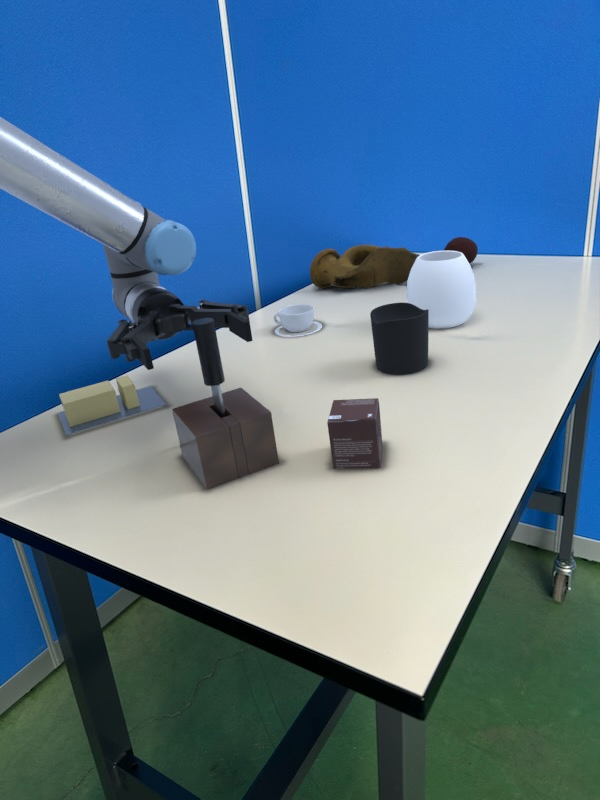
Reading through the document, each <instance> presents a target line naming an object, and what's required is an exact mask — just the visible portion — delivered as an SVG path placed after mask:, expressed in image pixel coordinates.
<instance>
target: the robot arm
mask: <svg viewBox="0 0 600 800" xmlns="http://www.w3.org/2000/svg"><path fill="white" fill-rule="evenodd" d="M0 190H2V191H4V192H5V193H8V194H10V195H11V196H13V197H15V198H17V199H19V200H21V201H22V202H23V203H26V204H27V205H30V206H32V207H33V208H35V209H37V210H39V211H41V212H43V213H45V214H46V215H48V216H50V217H52V218H53V219H56V220H58V221H59V222H61V223H64V224H65V225H66V226H69V227H70V228H72V229H74V230H76V231H77V232H80V233H81V234H83V235H85V236H87V237H88V238H91V239H93V240H94V241H96V242H98V243H100V244H102V248H103V251H104V255H105V259H106V261H107V262H106V263H107V265H108V270H109V275H110V279H111V283H112V290H111V297H112V298H111V299H112V302H113V303H114V306H115V308H116V310H118V311H119V313H120V314H121V315H122V316H123V317H125V318H127V319H128V320H127V319H125V318H124V319H123V318H122V319H120V320H118V321H117V323H118V325H117V327H116V328H115V329H114V330H113V332H112V333H111V334H110V335H109V337H108V339H107V340H106V344H107V350H108V352H109V356H110V359H112V360H116V359H119V358H120V357H121V356H122V355H124V356H125V360H126V362H127V363H132V362H135V361H136V360H138V361H139V362H140V363H141V364H142V366H143V367H144V368H145V369H146V370H147V371H150V370H154V368H155V367H154V363H153V359H152V354H151V350H150V348H149V346H147V345H148V344H150V343H151V342H156V341H162V340H163V341H164V340H168V339H171V338H173V337H174V336H176V335H177V334H178V333H182V332H183V331H191V332H194V330H193V325H192V322H193V321H195V320H198V319H202V318H212V319H214V324H215V329H216V328H217V329H228V330H229V332H231V333H232V334H234V335H235V336H237V337H239V338H240V339H242V340H243V341H245V342H247V343H250V342H253V341H254V340H253V335H252V327H251V321H250V315H249V308H248V305H246V304H237V303H225V302H216V301H210V300H206V299H201V300H199V301H198V306H197V305H185V304H184V303H183V302H182V300H181V299H180V298H179V297H178V296H177V295H176V294H174V293H173V292H171V291H170V290H168V289H167V288H165V287H163V286H161V284H160V283H161V282H160V279H159V275H160V276H178V275H181V274H182V273H184V272H186V271H187V270H188V269H189V268H190V267H191V266H192V265H193V264H194V262H195V258H196V254H197V243H196V239H195V237H194V235H193V233H192V231H191V230H190V229H189V228H188V227H187V226H186V225H183V224H182V223H179V222H177V221H176V220H171V219H165V218H163V217H162V216H160V215H158V214H157V213H155V212H153V211H152V210H150V209H149V208H147V207H145V206H143V205H142V203H141V202H139V201H137V200H135V199H132V197H129V196H128V195H126V194H125V193H123V192H121V191H120V190H118V189H117V188H115V187H113V186H112V185H110V184H109V183H108V182H105V181H104V180H102V179H101V178H99V177H98V176H96V175H94V174H92V173H91V172H90V171H88V170H86V169H85V168H83V167H81V166H80V165H78V164H77V163H75V162H73V161H72V160H70V159H69V158H67V157H65V156H64V155H62V153H61V154H60V153H59V152H57V151H56V150H54V149H53V148H52V147H49V146H48V145H46V144H44V143H43V142H42V141H40V140H38V139H37V138H35V137H33V136H32V135H30V134H29V133H27V132H26V131H23V130H22V129H21V128H19V127H18V126H17V125H14V124H13V123H11V122H10V121H8V120H6V119H4V118H3V117H1V116H0Z"/></svg>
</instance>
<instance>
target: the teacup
mask: <svg viewBox="0 0 600 800" xmlns="http://www.w3.org/2000/svg"><path fill="white" fill-rule="evenodd" d="M277 317H278V318H279V320H278V319H277ZM314 319H315V306H314V305H312V304H309V303H295V304H289V305H287V306H284V307H281V308H280V309H279V310H278V311H277V313H275V314H274V315H273V321H274V323H275V324H277V325H278V327H276V328H275V329H274V334H275V335H277V336H280V337H283V338H284V337H285V338H296V337H304V336H308V335H312V334H315V333H317V332H318V331H320V330H321V329H322V328H323V325H322V323H321V322H319V321H314ZM313 324H314V325H316V328H315V329H314V330H312V331H310V332H306V331H308V330H309V329H310V328H311V327H312V325H313ZM279 325H280V326H279ZM282 328H284V329H285V330H286V331H287V332H289V333H302V332H306V333H302V334H296V335H293V334H292V335H291V334H290V335H289V334H284V333H281V332H280V330H281V329H282Z"/></svg>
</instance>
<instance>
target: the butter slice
mask: <svg viewBox="0 0 600 800" xmlns="http://www.w3.org/2000/svg"><path fill="white" fill-rule="evenodd" d="M115 381H116V386H117V389H118V393H119V395H120V397H121V400H122V401H123V403H124V404H125V406H126V407H127V409H131V408H135V407H138V406H140V404H139V401H138V397H137V393H136V390H137V389H136V385H135V383H134V382H133V381H132V379H131V378H130V376H129V375H128V374H126V375H122V376H119V377H116V378H115Z"/></svg>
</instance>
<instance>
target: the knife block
mask: <svg viewBox="0 0 600 800" xmlns="http://www.w3.org/2000/svg"><path fill="white" fill-rule="evenodd" d="M222 398H223V403H224V408H225V413H226V417H223V418H220V417H219V416H218V415H217V414H216V411H215V406H214V401H213V395H212V396H208V397H205V398H202V399H199V400H196V401H192V402H190V403H189V402H188V403H186V404H183V405H180V406H176V407H172V408H171V411H172V416H173V420H174V425H175V429H176V434H177V437H178V442H179V446H180V451H181V455H182V458H183V460H184V461H185V463H186V464H187V465H188V466H189V468H190V469H191V471H192V472H193V473H194V475H195V476H196V477H197V478H198V480H199V481H200V483H201V484H202V485H203V487H204V488H205V489H206V490H211V489H213V488H216V487H219V486H222V485H224V484H227V483H229V482H232V481H236V480H238V479H241V478H244V477H247V476H248V475H252V474H254V473H258V472H260V471H263V470H265V469H268V468H271V467H274V466H277V465H279V464H280V460H279V453H278V447H277V441H276V435H275V428H274V422H273V416H272V412H271V410H270V409H268V408H267V407H266V406H265V405H263V404H262V403H261V402H259V401H258V400H257V399H256V398H254V397H253V396H252V395H251V394H250V393H249V392H247V391H246V390H245V389H244V388H243V387H238V388H235V389H230V390H228V391H224V392H222Z"/></svg>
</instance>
